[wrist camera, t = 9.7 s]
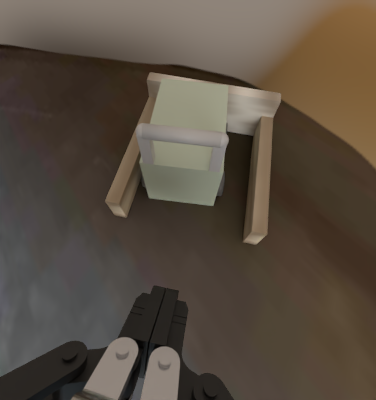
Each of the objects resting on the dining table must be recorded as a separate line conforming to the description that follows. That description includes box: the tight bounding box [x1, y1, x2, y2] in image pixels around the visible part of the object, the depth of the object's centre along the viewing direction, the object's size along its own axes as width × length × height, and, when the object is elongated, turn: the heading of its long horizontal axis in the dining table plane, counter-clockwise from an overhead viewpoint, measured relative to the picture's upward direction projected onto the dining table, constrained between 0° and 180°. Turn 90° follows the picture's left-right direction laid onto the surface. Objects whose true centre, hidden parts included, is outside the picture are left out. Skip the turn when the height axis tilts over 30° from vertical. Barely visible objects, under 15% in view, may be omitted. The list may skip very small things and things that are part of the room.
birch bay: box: [105, 72, 281, 245], centre depth 22 cm, size 13×14×5 cm
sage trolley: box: [136, 78, 229, 206], centre depth 20 cm, size 8×10×10 cm
